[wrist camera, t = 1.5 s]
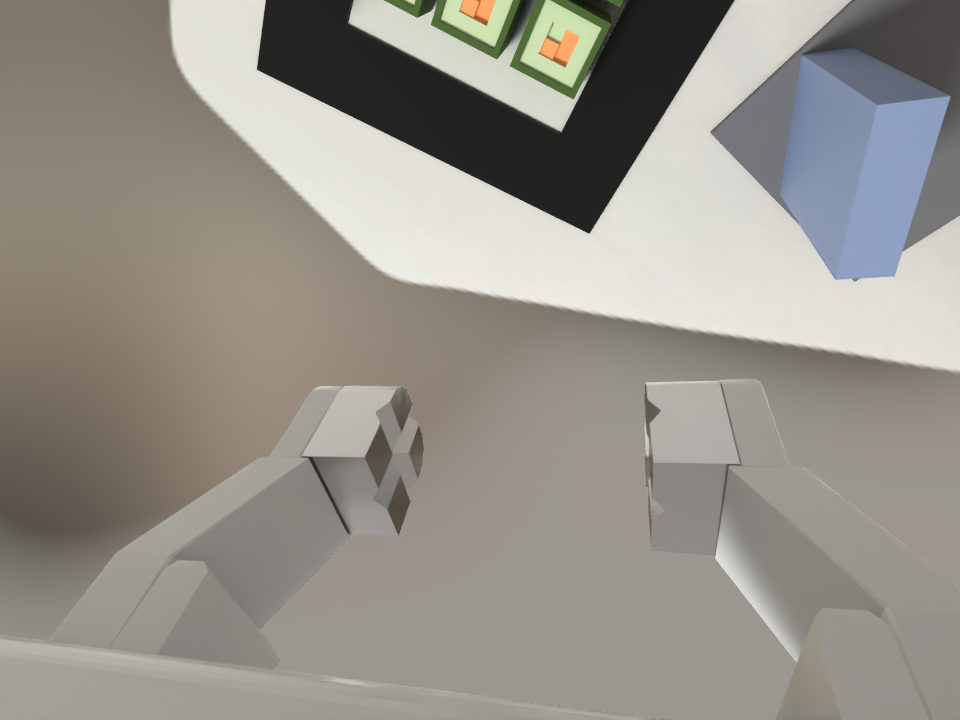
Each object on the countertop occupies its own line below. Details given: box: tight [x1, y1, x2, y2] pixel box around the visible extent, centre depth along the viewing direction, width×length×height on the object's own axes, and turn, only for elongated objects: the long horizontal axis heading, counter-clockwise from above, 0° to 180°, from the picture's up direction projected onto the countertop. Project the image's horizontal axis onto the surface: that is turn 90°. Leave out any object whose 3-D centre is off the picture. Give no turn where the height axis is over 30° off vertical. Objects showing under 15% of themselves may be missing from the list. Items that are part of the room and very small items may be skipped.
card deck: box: [780, 47, 950, 280], centre depth 28 cm, size 3×8×11 cm, turn 10°
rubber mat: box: [711, 0, 960, 282], centre depth 31 cm, size 16×15×1 cm
